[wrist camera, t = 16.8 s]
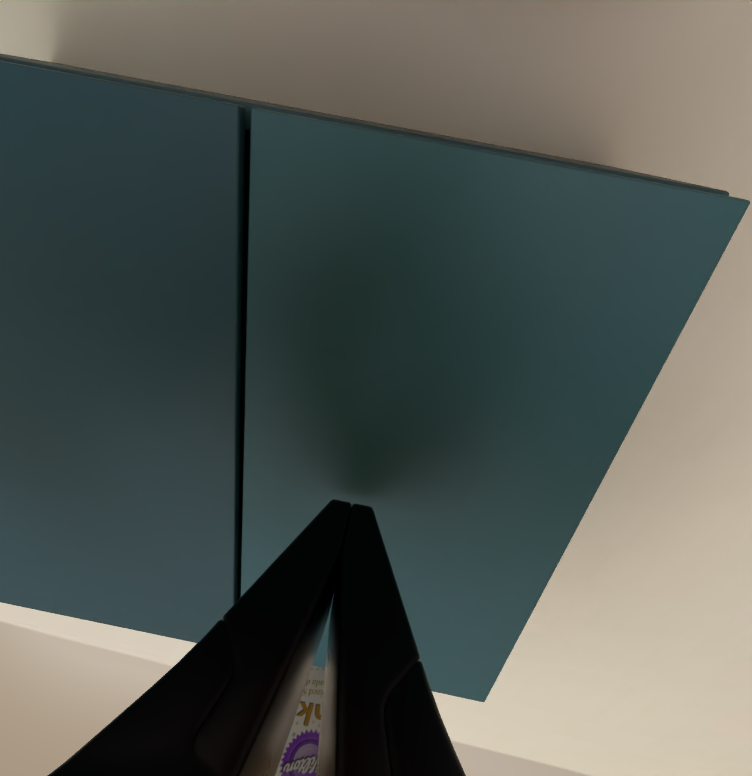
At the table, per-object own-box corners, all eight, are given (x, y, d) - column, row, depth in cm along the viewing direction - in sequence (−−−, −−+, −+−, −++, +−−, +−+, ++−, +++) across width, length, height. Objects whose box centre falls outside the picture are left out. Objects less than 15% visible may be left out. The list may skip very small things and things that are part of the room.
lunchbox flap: (740, 198, 7) (751, 201, 7) (483, 692, 14) (484, 702, 13) (257, 107, 7) (250, 107, 7) (242, 640, 14) (239, 650, 14)
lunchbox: (613, 167, 12) (758, 198, 6) (471, 541, 19) (486, 704, 13) (49, 61, 12) (-252, 10, 7) (114, 469, 19) (-11, 601, 14)
